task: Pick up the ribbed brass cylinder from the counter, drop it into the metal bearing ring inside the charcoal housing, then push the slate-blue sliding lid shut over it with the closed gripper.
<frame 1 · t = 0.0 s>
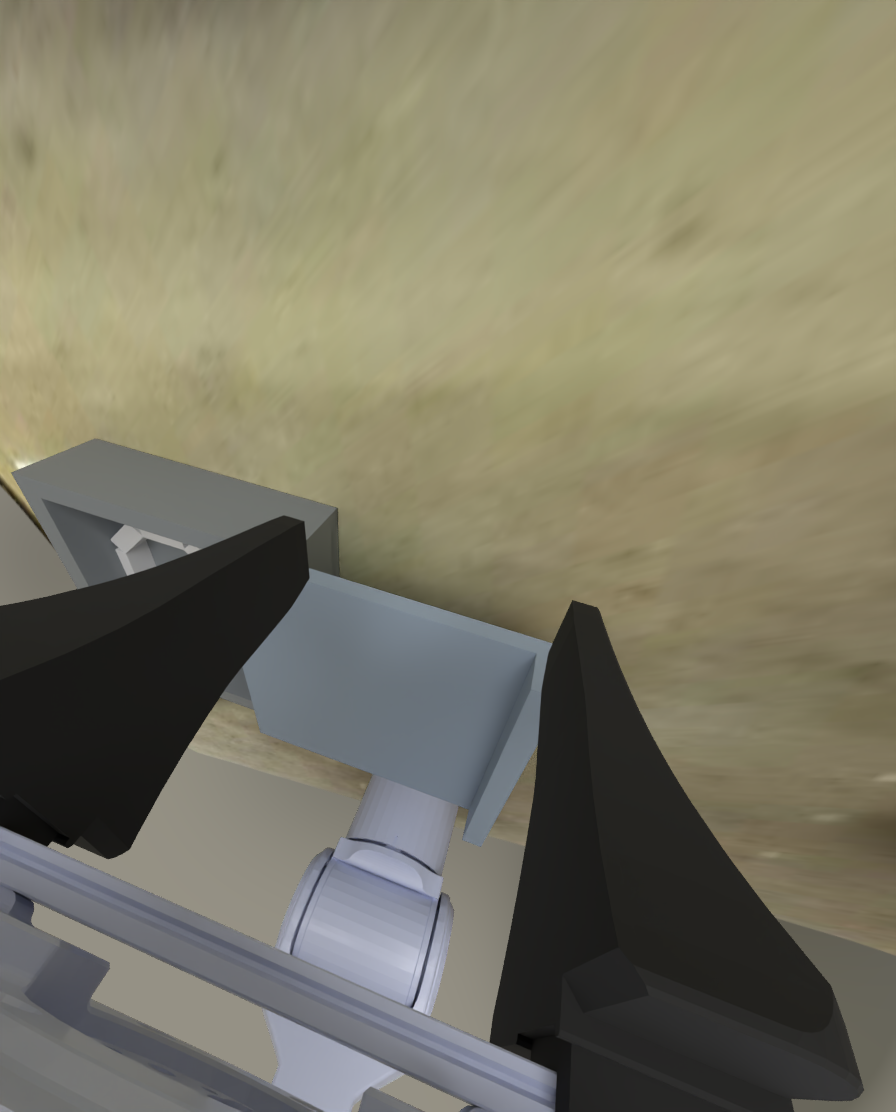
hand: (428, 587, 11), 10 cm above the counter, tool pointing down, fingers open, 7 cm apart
lid: (368, 714, 23), point 7 cm above the counter, slide at 13.0 cm
housing: (235, 573, 30), on the counter
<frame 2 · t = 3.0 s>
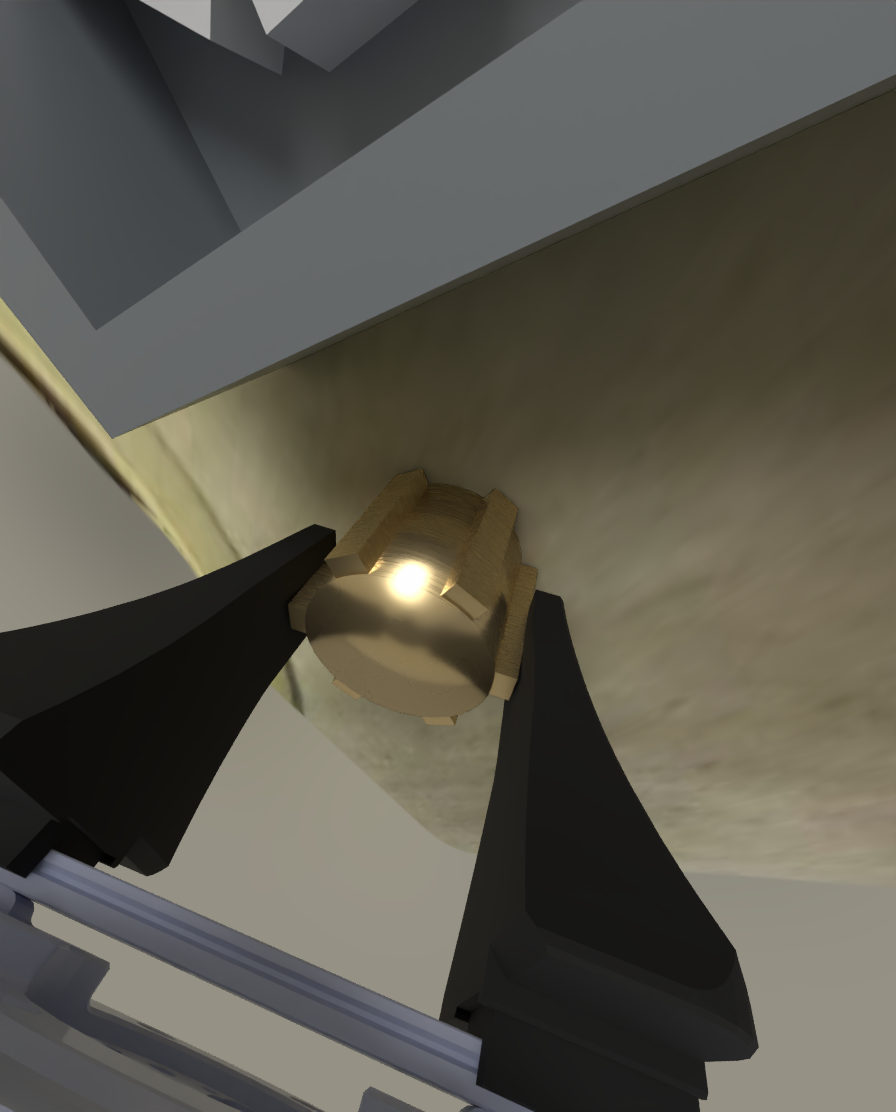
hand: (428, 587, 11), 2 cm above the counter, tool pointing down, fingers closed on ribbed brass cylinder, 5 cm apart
ribbed brass cylinder: (445, 551, 12), on the counter, touching gripper
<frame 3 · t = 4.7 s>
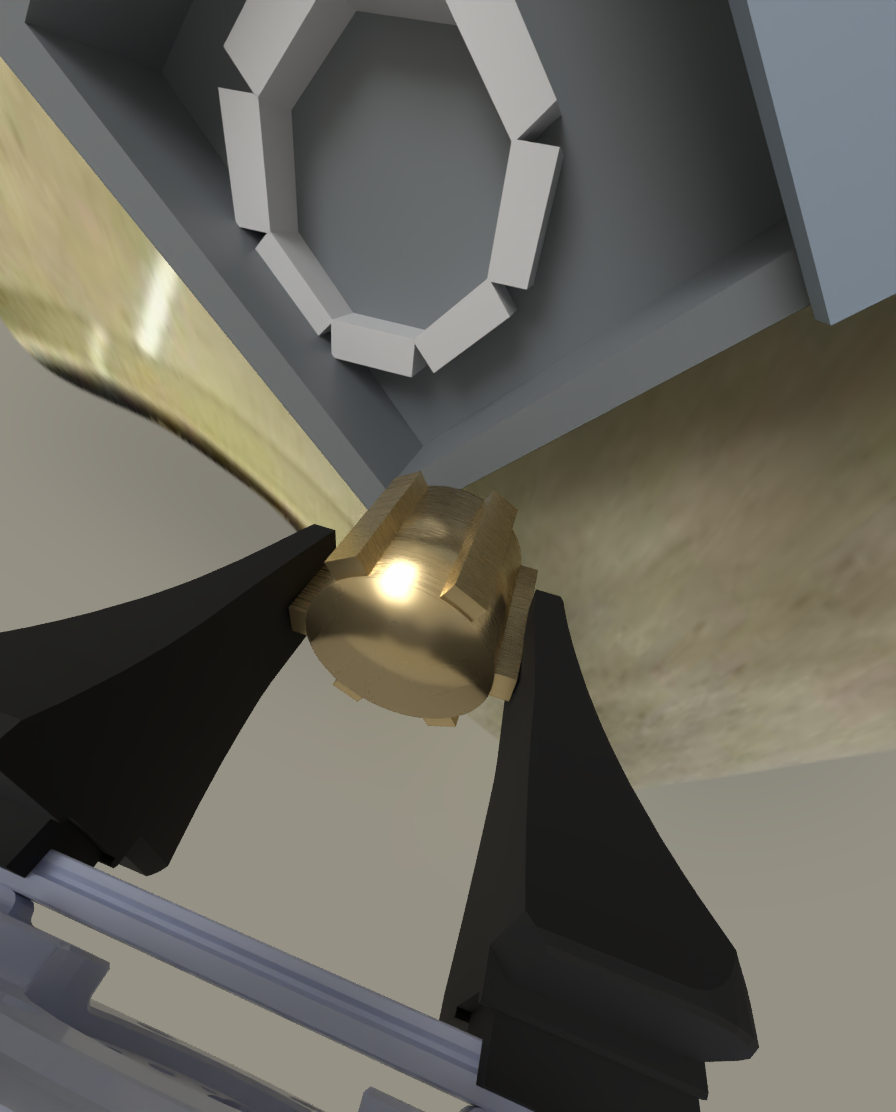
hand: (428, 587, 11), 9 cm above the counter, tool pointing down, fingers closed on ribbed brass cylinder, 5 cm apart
ribbed brass cylinder: (446, 553, 13), point 7 cm above the counter, touching gripper
housing: (469, 130, 12), on the counter
when the fingers open (4 cm above the counter, at t = 6.7 s): ribbed brass cylinder drops 2 cm, resting on housing.
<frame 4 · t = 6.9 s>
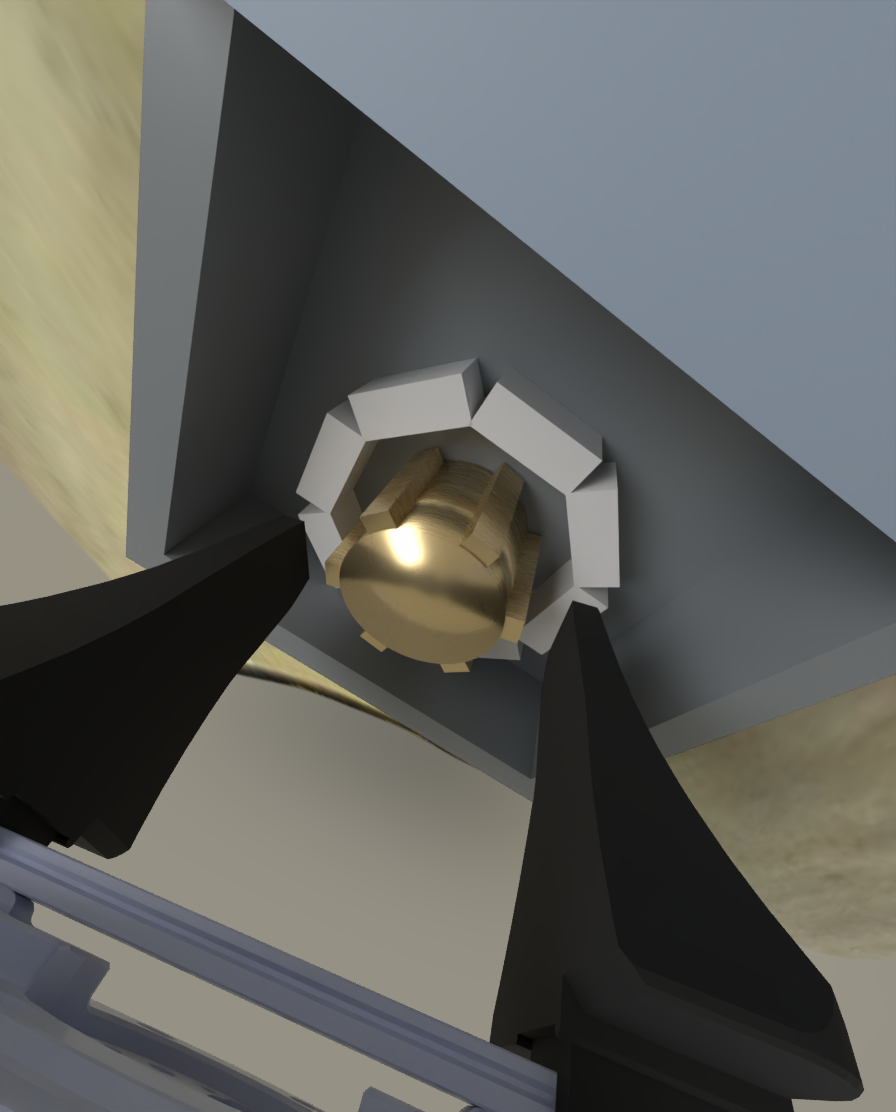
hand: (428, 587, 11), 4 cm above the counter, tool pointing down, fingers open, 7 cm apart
ribbed brass cylinder: (459, 523, 14), point 1 cm above the counter, touching housing
housing: (510, 453, 13), on the counter
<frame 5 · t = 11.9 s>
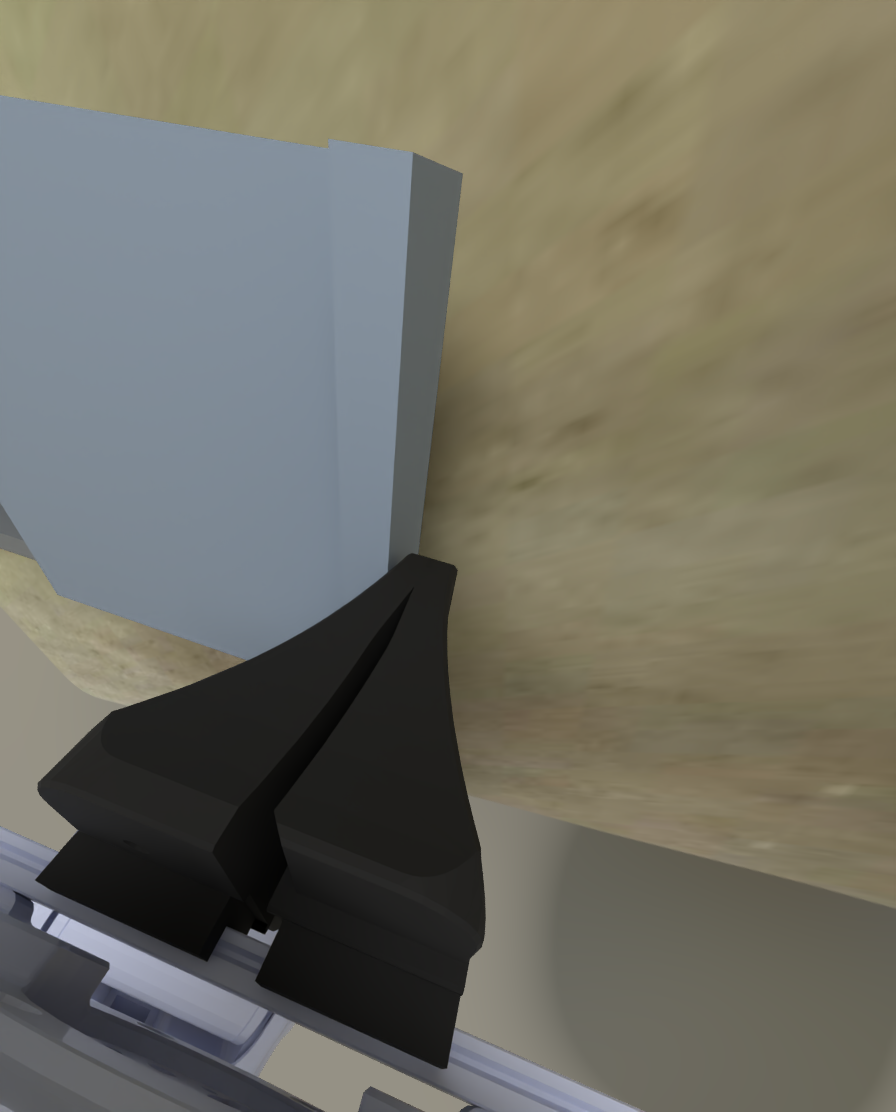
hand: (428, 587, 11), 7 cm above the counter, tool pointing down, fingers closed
lid: (147, 490, 13), point 6 cm above the counter, slide at 12.8 cm, touching gripper
housing: (23, 353, 19), on the counter
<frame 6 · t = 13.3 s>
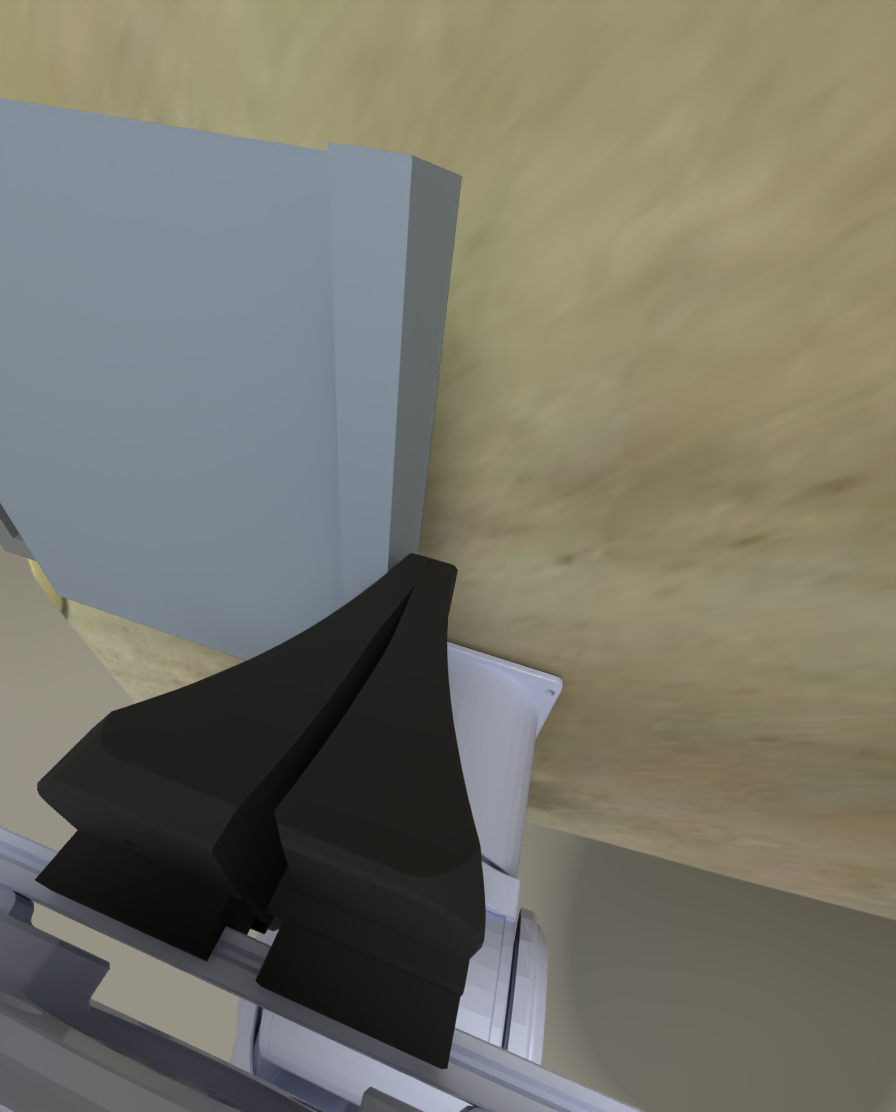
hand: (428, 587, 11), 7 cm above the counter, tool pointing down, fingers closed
lid: (148, 491, 13), point 6 cm above the counter, slide at 4.6 cm, touching gripper
housing: (178, 394, 18), on the counter
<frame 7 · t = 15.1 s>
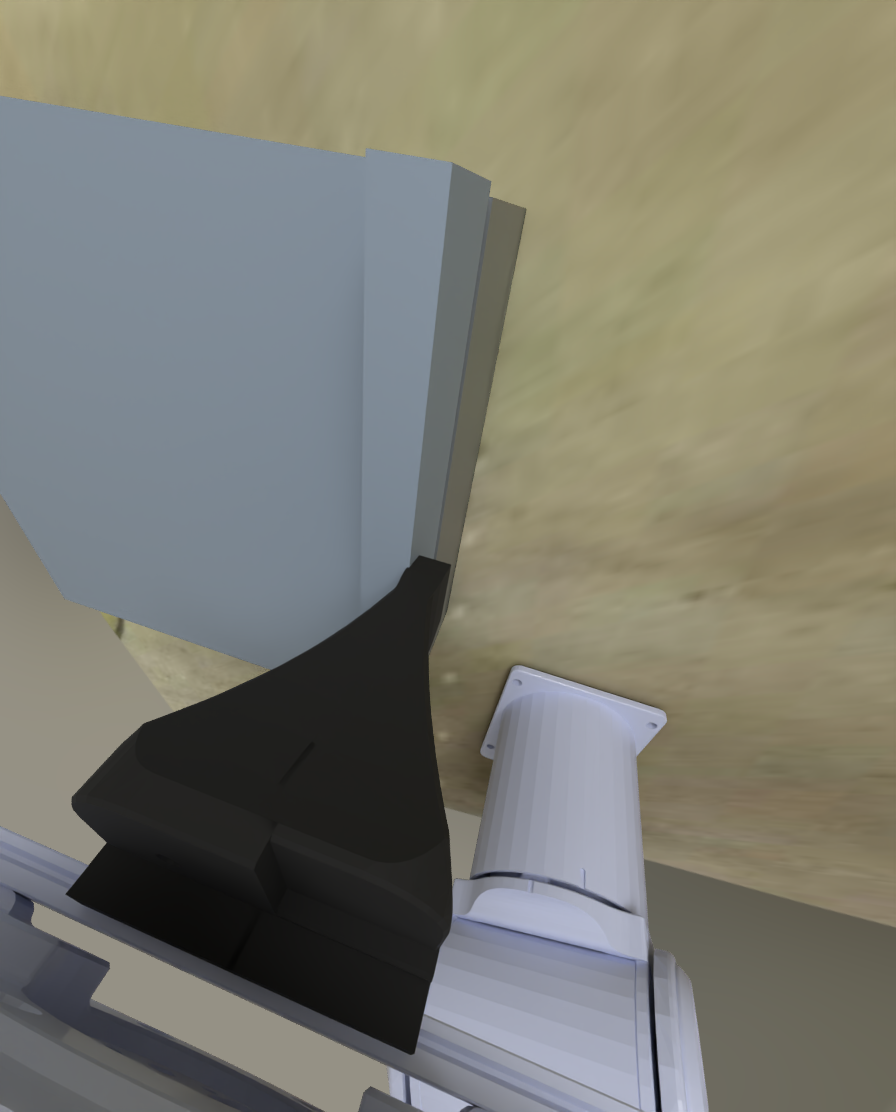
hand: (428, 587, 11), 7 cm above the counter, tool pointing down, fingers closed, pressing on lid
lid: (161, 495, 13), point 6 cm above the counter, slide at -0.2 cm, touching gripper
housing: (288, 422, 18), on the counter
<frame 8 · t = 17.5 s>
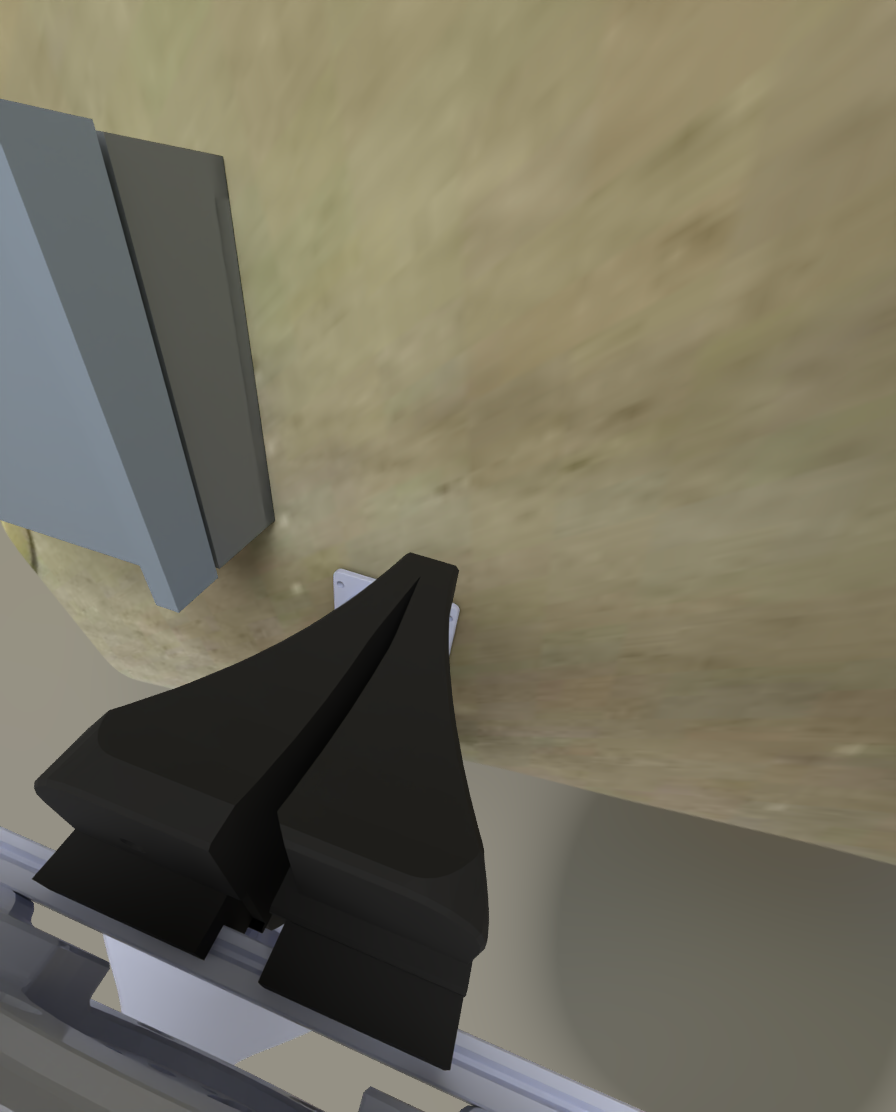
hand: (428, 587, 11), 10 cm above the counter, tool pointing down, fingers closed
housing: (112, 347, 21), on the counter
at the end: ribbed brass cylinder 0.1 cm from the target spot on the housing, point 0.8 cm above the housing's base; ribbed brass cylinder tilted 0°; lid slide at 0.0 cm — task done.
